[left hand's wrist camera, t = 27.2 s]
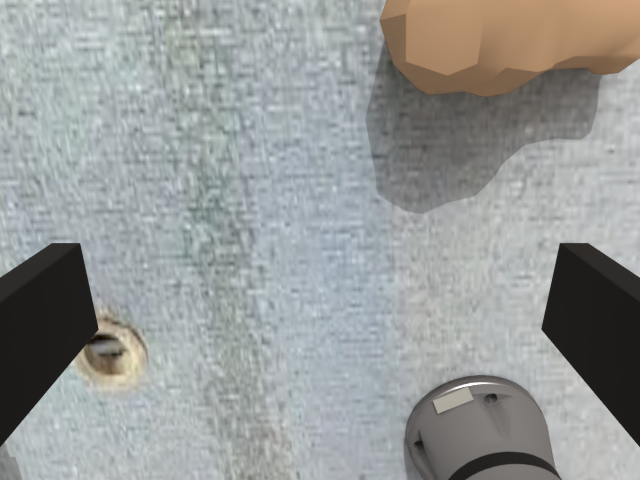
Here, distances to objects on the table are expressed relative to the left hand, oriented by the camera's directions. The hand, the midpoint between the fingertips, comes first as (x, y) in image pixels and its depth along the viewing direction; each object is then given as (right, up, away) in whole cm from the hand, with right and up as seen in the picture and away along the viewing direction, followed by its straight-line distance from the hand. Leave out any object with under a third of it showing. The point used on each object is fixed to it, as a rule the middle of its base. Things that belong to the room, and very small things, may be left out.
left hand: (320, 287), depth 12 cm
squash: (+14, +19, +23) cm, 33 cm away
